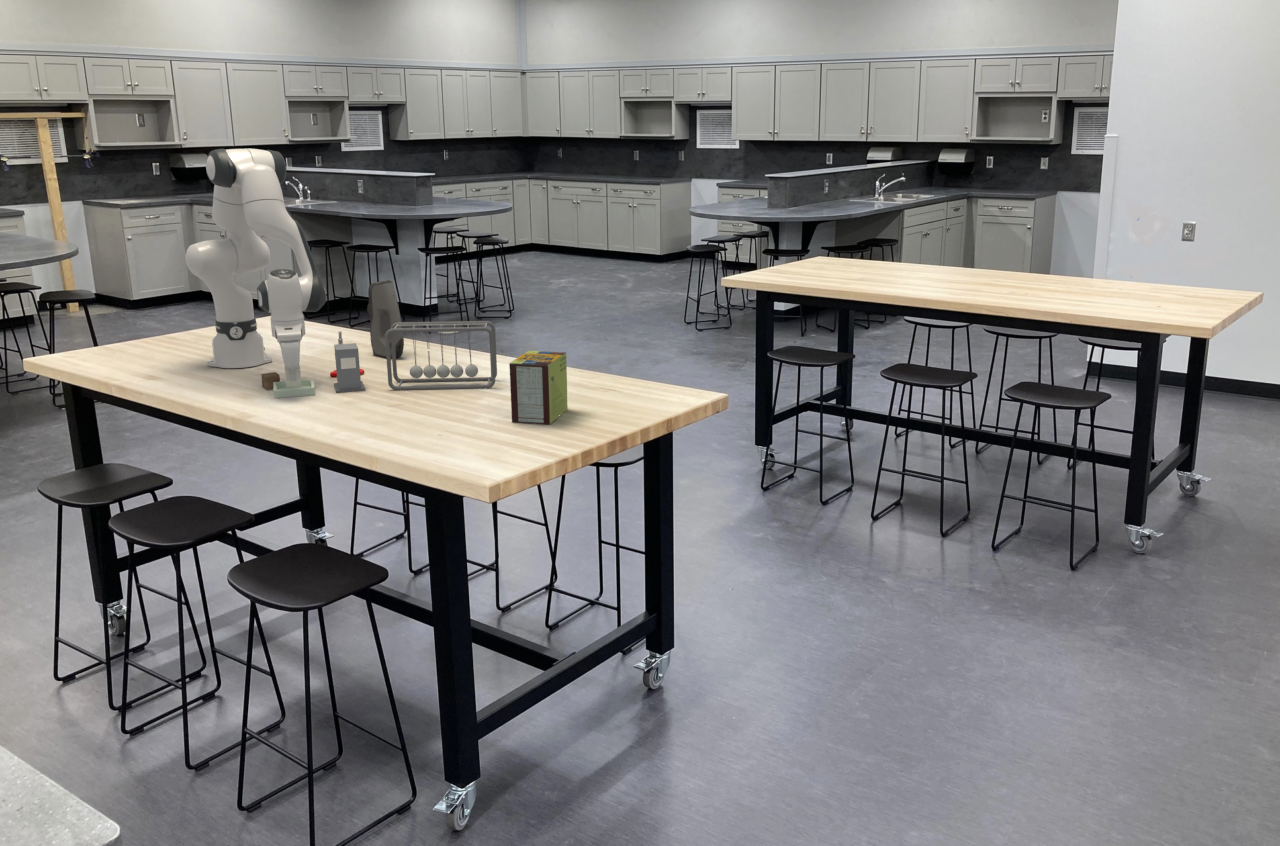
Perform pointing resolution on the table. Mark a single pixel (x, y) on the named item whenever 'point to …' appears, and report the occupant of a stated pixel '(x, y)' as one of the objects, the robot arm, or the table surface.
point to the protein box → (538, 387)
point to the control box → (347, 368)
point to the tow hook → (340, 341)
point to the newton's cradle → (442, 369)
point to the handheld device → (384, 317)
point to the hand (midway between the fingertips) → (292, 377)
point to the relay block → (296, 382)
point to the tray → (293, 389)
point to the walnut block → (269, 380)
